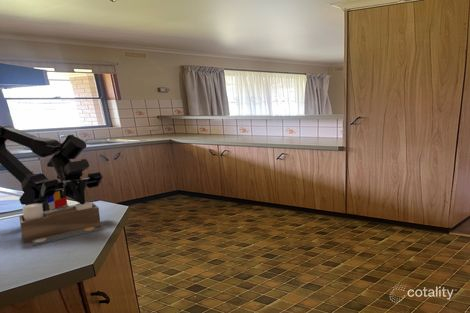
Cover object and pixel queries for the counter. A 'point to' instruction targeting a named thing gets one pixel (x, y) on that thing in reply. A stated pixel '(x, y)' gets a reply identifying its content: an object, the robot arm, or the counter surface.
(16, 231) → the counter surface
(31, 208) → the unmarked button
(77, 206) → the beige cylinder
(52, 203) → the puzzle toy
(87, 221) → the button console
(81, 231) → the pattern card
